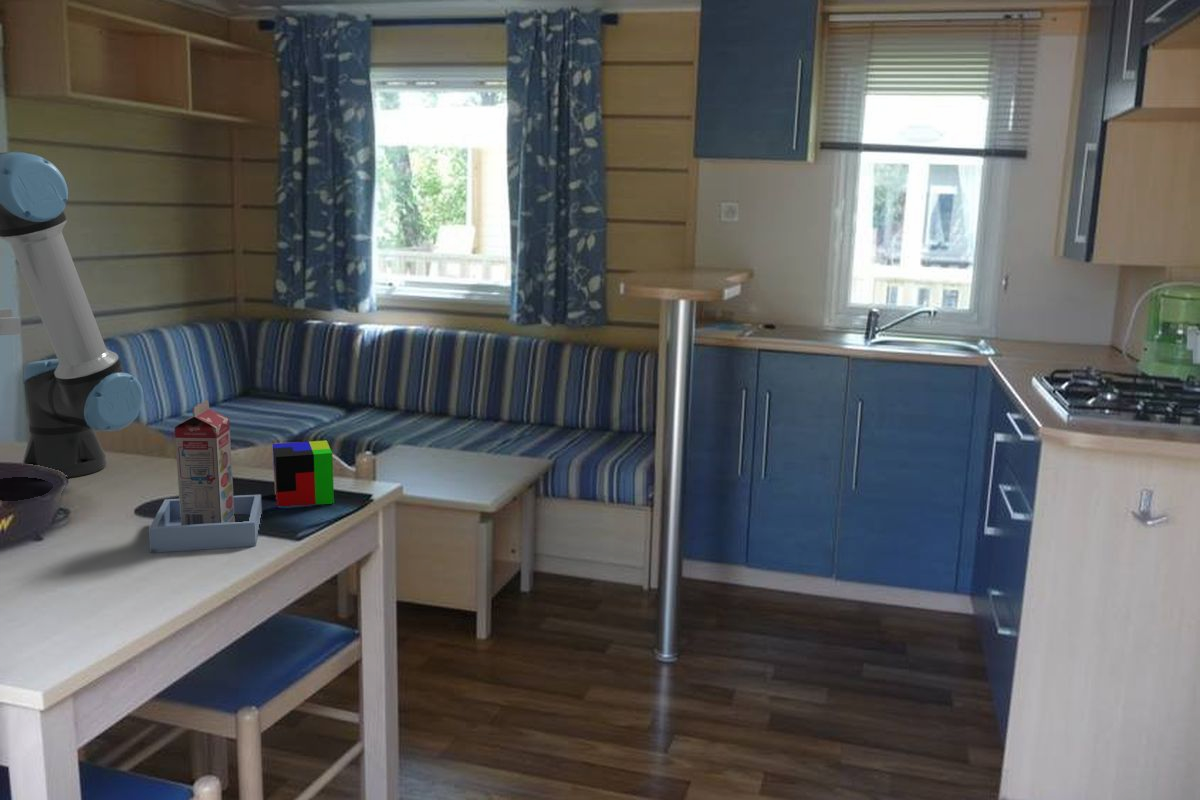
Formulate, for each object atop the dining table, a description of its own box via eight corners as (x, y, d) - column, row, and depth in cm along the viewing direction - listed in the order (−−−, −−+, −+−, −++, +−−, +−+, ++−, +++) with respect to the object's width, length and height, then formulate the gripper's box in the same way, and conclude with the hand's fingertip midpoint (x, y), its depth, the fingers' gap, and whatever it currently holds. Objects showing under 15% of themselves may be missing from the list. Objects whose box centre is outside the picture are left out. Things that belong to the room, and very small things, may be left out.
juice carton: (181, 536, 165) (173, 407, 161) (196, 523, 172) (188, 398, 168) (222, 536, 166) (214, 407, 161) (235, 523, 172) (228, 399, 168)
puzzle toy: (274, 494, 192) (272, 443, 190) (328, 489, 195) (326, 440, 193) (278, 509, 183) (275, 456, 181) (334, 504, 186) (332, 453, 184)
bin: (166, 521, 175) (164, 499, 174) (262, 515, 179) (261, 494, 178) (150, 552, 159) (148, 529, 159) (255, 545, 163) (254, 522, 163)
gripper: (-136, 341, 166) (11, 333, 177) (-140, 363, 146) (26, 353, 157) (-142, 296, 164) (7, 291, 176) (-147, 312, 144) (21, 306, 156)
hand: (16, 320), depth 167 cm, fingers open, 13 cm apart
